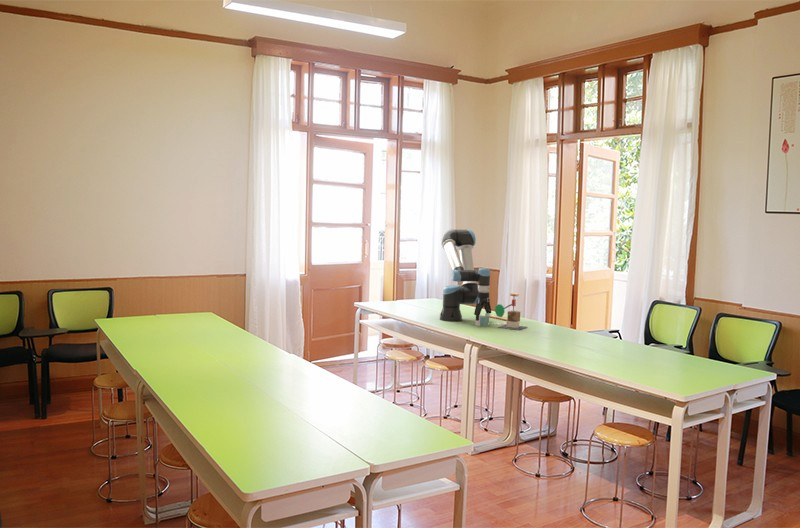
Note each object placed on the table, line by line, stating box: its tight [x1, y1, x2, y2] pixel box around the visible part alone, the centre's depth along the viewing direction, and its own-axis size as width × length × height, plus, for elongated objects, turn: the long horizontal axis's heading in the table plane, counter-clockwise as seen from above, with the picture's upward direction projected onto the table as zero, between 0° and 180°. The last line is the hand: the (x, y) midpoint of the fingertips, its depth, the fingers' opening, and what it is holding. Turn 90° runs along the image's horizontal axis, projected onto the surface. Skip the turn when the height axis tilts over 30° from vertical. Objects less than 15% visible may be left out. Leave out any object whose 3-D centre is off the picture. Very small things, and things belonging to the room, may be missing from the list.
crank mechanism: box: [489, 292, 520, 322], centre depth 458 cm, size 25×7×19 cm, turn 36°
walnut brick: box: [506, 310, 521, 322], centre depth 427 cm, size 6×5×6 cm
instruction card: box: [493, 322, 507, 326], centre depth 438 cm, size 10×7×1 cm
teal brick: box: [475, 314, 490, 327], centre depth 433 cm, size 6×6×6 cm
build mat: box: [498, 320, 528, 331], centre depth 427 cm, size 14×14×4 cm
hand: (482, 324), depth 433 cm, fingers open, 13 cm apart
